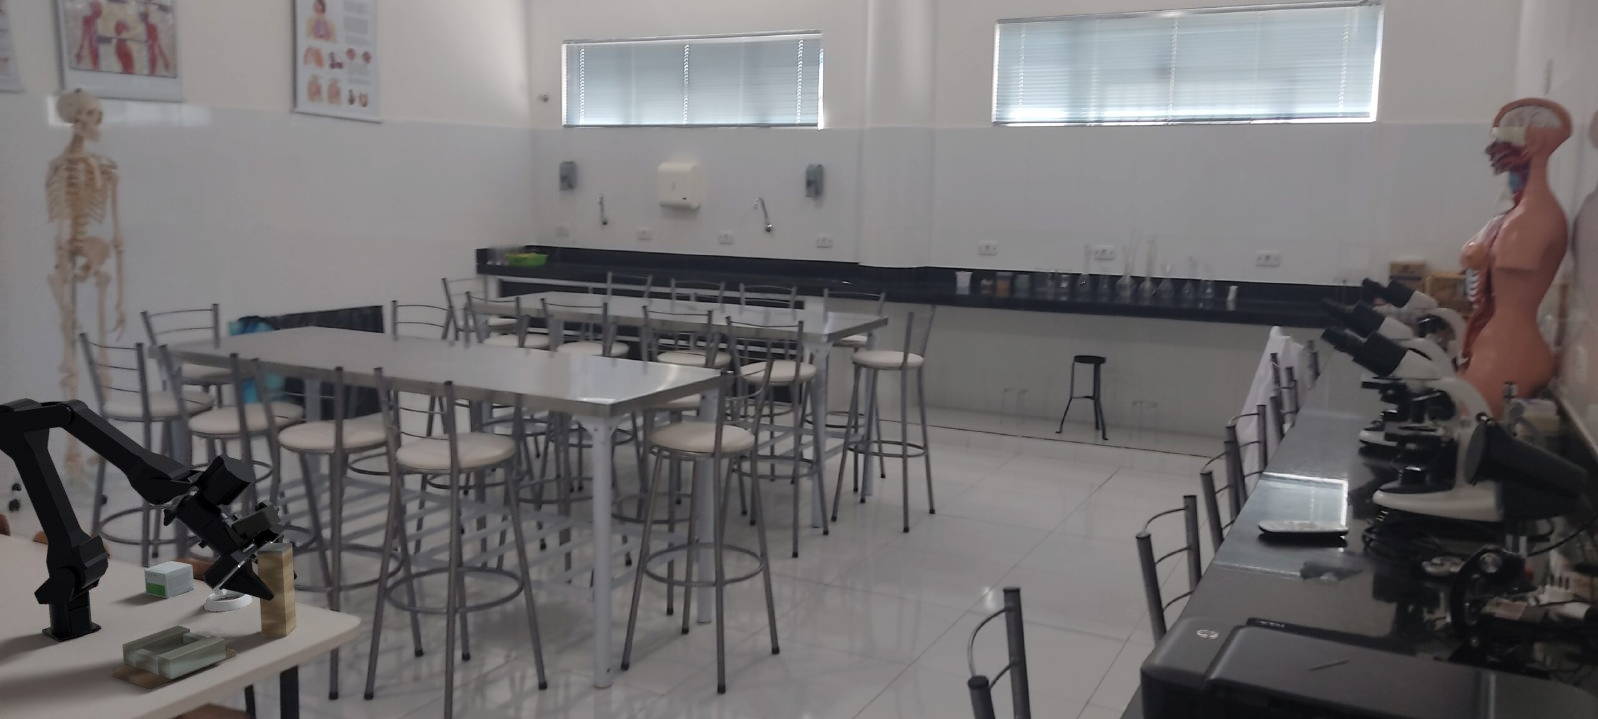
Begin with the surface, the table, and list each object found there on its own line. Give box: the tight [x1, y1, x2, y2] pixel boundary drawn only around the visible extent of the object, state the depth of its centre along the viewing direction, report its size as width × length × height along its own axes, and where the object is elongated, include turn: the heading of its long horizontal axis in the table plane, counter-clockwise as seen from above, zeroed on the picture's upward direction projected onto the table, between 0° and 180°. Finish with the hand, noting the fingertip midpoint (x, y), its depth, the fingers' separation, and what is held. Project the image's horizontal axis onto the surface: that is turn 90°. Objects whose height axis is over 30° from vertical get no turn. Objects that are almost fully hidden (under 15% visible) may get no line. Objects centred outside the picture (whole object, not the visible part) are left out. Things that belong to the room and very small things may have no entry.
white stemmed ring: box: [203, 582, 253, 613], centre depth 199 cm, size 8×12×7 cm
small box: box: [143, 560, 195, 599], centre depth 205 cm, size 6×6×5 cm
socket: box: [111, 625, 237, 690], centre depth 174 cm, size 12×14×4 cm
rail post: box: [256, 542, 297, 637], centre depth 187 cm, size 4×4×15 cm
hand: (284, 588), depth 187 cm, fingers open, 9 cm apart
